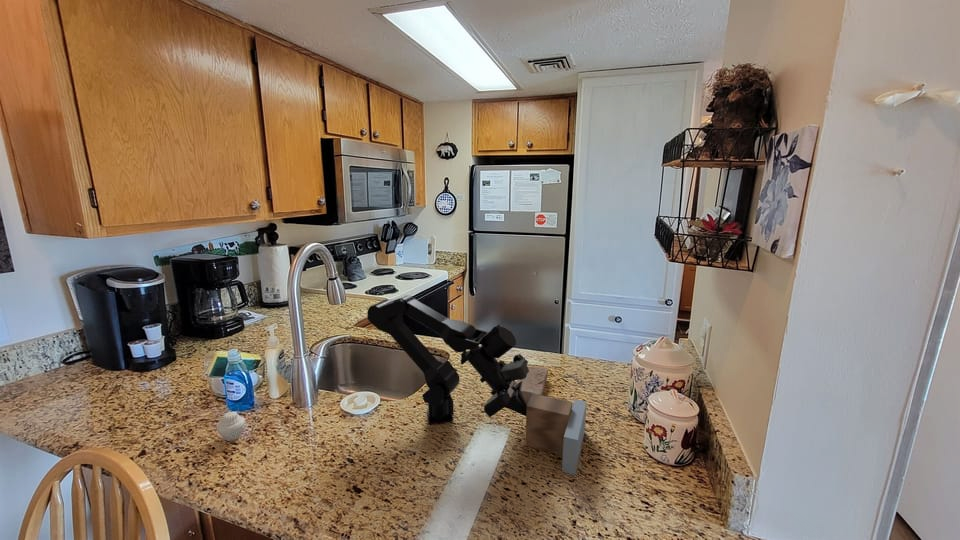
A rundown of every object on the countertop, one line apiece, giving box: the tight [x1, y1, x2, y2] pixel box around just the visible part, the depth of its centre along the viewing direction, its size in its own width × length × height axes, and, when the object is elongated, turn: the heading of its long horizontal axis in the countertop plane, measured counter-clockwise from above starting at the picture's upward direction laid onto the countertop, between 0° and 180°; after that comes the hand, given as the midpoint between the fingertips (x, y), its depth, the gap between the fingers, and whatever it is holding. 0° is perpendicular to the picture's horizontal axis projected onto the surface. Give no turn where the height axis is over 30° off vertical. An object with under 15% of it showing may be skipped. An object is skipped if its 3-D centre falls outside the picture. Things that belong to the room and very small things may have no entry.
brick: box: [516, 366, 549, 404], centre depth 118 cm, size 16×8×5 cm, turn 163°
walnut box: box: [524, 394, 573, 456], centre depth 94 cm, size 10×6×11 cm, turn 68°
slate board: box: [561, 399, 588, 476], centre depth 91 cm, size 3×16×9 cm, turn 158°
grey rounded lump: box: [216, 411, 246, 442], centre depth 96 cm, size 6×6×7 cm
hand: (528, 414), depth 95 cm, fingers closed, pressing on walnut box
